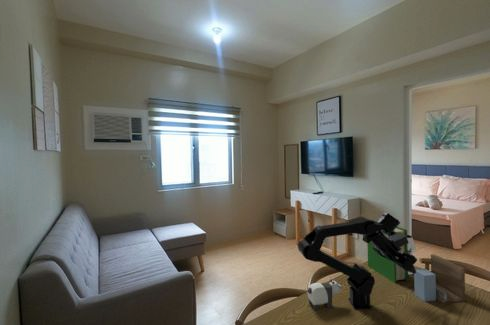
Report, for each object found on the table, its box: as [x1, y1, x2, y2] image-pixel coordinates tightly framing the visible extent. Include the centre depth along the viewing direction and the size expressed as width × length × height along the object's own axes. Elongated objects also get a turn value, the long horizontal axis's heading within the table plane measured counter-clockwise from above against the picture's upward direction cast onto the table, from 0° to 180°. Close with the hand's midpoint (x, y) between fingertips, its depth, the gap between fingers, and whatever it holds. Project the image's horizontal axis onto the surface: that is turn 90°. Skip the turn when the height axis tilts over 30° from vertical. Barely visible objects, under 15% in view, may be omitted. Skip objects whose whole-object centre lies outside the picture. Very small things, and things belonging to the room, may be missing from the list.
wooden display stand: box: [430, 254, 466, 304], centre depth 104 cm, size 10×14×13 cm
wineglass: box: [407, 234, 416, 276], centre depth 122 cm, size 8×8×18 cm
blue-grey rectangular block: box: [413, 268, 437, 303], centre depth 100 cm, size 5×5×10 cm
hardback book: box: [366, 219, 409, 284], centre depth 121 cm, size 18×7×24 cm, turn 12°
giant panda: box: [307, 278, 343, 311], centre depth 98 cm, size 15×6×10 cm, turn 101°
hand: (406, 267), depth 99 cm, fingers open, 9 cm apart
